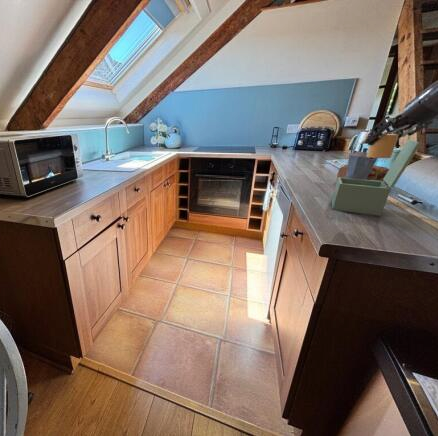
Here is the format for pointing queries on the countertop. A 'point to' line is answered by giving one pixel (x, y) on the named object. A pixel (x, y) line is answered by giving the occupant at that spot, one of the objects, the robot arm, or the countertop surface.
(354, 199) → the bin
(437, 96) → the robot arm
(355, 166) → the moka pot
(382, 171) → the bread
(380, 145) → the tan cylinder
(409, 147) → the bin lid
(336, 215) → the countertop surface
